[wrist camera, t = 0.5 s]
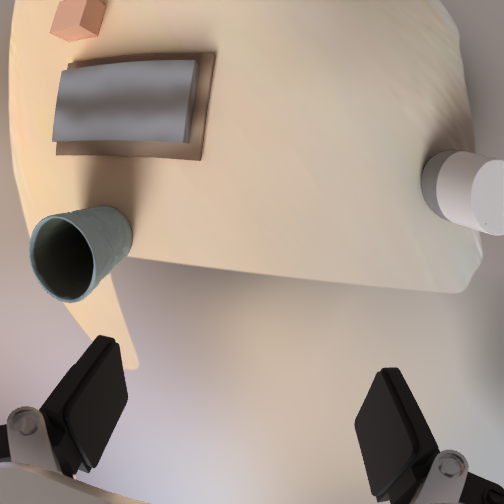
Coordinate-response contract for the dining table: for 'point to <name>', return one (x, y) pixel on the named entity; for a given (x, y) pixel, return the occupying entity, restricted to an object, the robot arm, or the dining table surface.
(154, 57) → the board
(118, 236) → the grey green cup
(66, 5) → the terracotta cube
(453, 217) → the smart speaker
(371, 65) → the dining table surface
